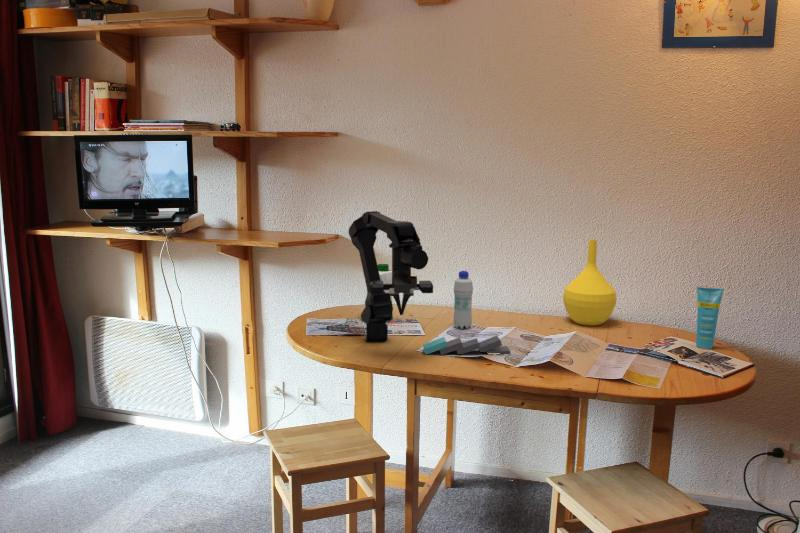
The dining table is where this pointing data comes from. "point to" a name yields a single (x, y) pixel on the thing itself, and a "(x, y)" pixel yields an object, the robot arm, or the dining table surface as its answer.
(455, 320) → the bottle
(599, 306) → the vase
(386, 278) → the milk carton
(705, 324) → the tube
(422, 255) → the robot arm
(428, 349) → the domino
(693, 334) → the dining table surface
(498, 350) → the domino
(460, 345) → the domino
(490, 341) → the domino
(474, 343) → the domino
